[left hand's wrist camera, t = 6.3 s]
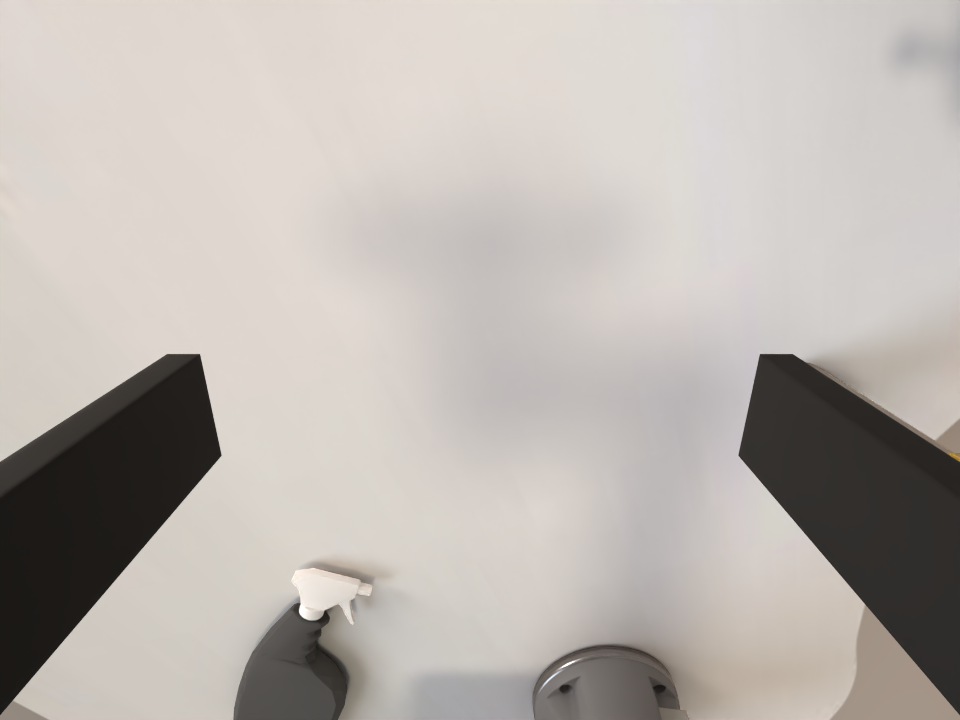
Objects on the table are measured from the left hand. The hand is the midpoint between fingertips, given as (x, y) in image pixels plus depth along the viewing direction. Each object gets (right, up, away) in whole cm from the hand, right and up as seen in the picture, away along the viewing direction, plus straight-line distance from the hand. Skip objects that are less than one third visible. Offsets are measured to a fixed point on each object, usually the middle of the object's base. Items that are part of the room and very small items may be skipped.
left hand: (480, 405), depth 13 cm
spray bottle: (-18, -29, +42) cm, 54 cm away
